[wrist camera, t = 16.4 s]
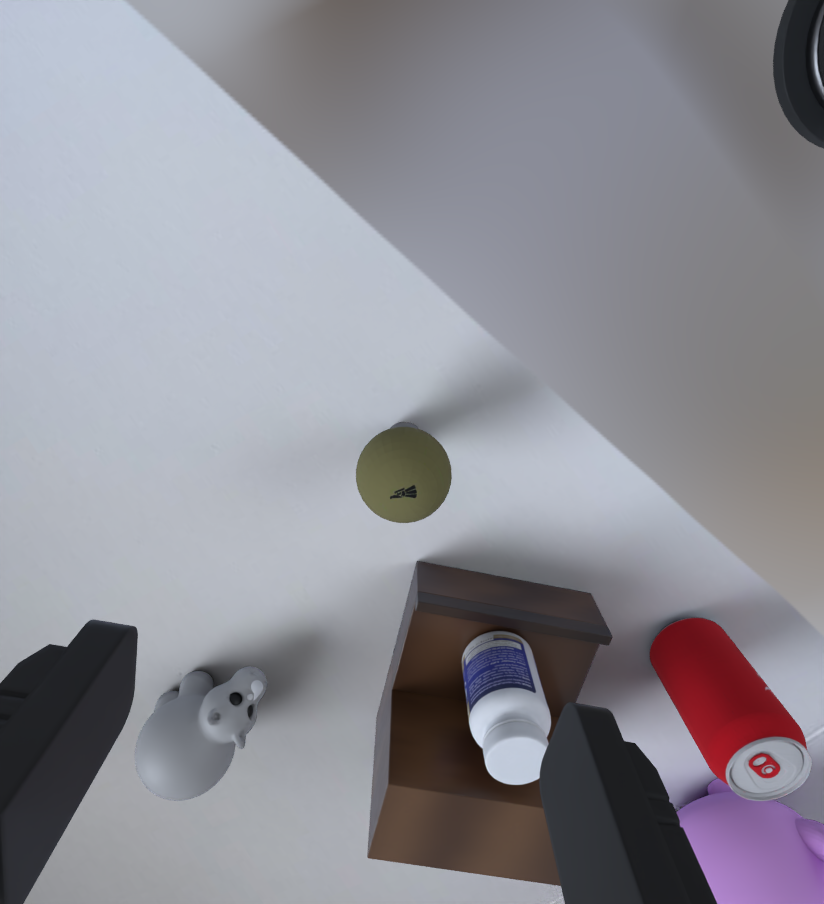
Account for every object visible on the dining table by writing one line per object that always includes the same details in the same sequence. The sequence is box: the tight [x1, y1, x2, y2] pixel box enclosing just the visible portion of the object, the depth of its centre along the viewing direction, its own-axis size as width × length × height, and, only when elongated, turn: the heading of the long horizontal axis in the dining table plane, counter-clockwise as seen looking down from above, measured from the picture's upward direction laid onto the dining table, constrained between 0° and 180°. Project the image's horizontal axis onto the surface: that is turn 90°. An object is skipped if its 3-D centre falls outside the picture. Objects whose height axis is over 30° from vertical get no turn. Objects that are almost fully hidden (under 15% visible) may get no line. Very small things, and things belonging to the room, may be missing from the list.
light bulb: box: [356, 422, 452, 523], centre depth 36 cm, size 6×6×10 cm
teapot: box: [676, 778, 824, 904], centre depth 49 cm, size 20×14×12 cm
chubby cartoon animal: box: [135, 666, 268, 801], centre depth 45 cm, size 7×12×8 cm, turn 130°
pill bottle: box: [462, 631, 551, 785], centre depth 39 cm, size 5×5×9 cm
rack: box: [367, 561, 612, 886], centre depth 42 cm, size 14×16×12 cm
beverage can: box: [650, 618, 812, 801], centre depth 42 cm, size 6×6×12 cm
